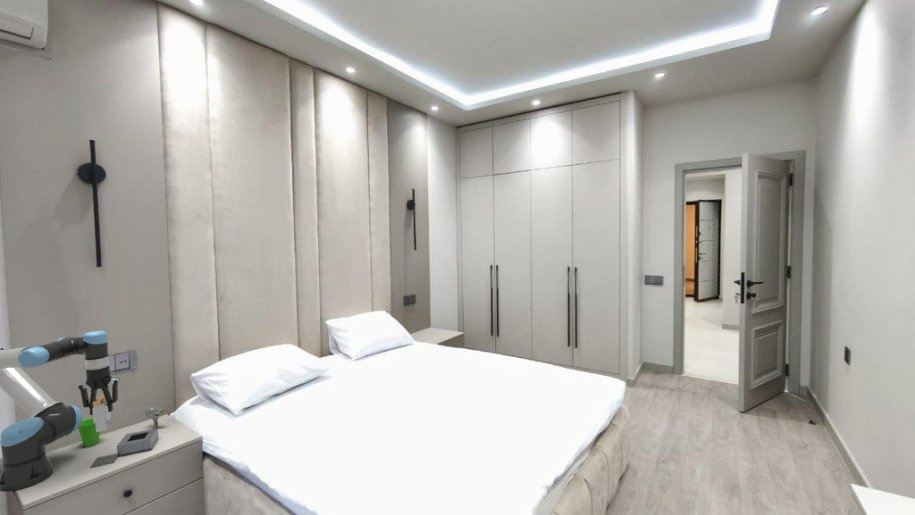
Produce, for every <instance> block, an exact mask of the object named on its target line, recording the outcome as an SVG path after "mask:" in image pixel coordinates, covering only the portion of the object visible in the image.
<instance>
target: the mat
mask: <svg viewBox="0 0 915 515" xmlns="http://www.w3.org/2000/svg"><path fill="white" fill-rule="evenodd" d="M118 458H119V457H118V454H117V453H114V454H109V455H108V454H107V455H102V456H99V457H96V458H95V460H93V463H91V465H90V466H89V468H91V469H92V468H96V467H100V466H105V465H111V464H114V463H115V462H116V460H117V459H118Z"/></svg>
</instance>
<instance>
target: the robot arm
mask: <svg viewBox="0 0 915 515" xmlns="http://www.w3.org/2000/svg"><path fill="white" fill-rule="evenodd" d="M108 340H109V339H108V336H107V332H106V331H104V330H97V331H96V330H95V331H90V332H85V333H84V334H83V335H82V336H67V337H60V338H58V339H57V340H56V341H52V342H49V343H44V344H42V345H33V346H25V347H17V348H15V349H6V350H4V349H3V348H1V349H0V388H1V389H2V391H3V392H5V393H6V394H7V396H9V397H10V399H12V400H13V401H14V402H15V403H16V404H17V405H18V406H19V407H20V408H21V409H22V410H23V411H25V413H26V414H27V415H28V416H30V417H29V418H25V419H23V420H19V421H16V422H14V423H11V424H10V425H8V426H6V427H5V428H4V429H3V430H2V431H1V433H0V448H1V456H2V464H3V467H2V471H1V474H0V492H3V493H5V492H15V491H18V490H23V489H25V488H29V487H31V486H35V485H37V484H39V483H41V482H43V481H45V480H47V479H49V477H51V476H52V475H53V473H54V472H55V471H54V464H52V462H51V461H50V459H49V458H48V456H47V454H46V453H47V451H46V446H48V445H50V444H52V443H54V442H56V441H58V440H60V439H62V438H64V437H66V436H69V435H70V434H71V433H73V432H75V431H77V430H79V429H78V428H79V427H80V425H81V423H82V421H83V418H84V417H83V416H84V414H83V412H82V410H81V408H79V407H78V406H77V405H73V404H71V405H70V404H69V405H66V404H65V403H64V402H63V401H55V400H54V399H53V398H52V397H51V396H50V395H49V394H48V393H47V392H46V391H45V390H43V388H42V387H40V386H39V385H38V383H37V382H35V380H34V379H32V378H31V376H29V375H28V373H26V372H25V371H24V370H23V369H22V368H21V367H24V368H27V369H30V368H36V367H41V366H42V365H45V364H48V363H52V362H54V361H57V360H58V361H59V360H61V359H65V358H69V357H71V356H77V355H78V356H79V355H80V356H81V355H84V364H85V369H86V370H85V373H86V374H85V375H86V381H85V382H84V383H81V384H79V385H78V386H77V387H78V390H79V391H80V394H81V400H82V405H83V408H89V415H90V416H92V418H93V420H94V423H95V412H94V406H93V401H94V400H95V399H97V391H98V390H99V389H100V390H101V391H102V394H103V395H104V396H105V399H106V402H107V405H106V406H105V411H106V421H107V420H109V421H110V419H111V418H112V417H111V415H112V414H111V412H113V409H114V407H113V406H114V405H113V404H114V403H116V402H117V401H118V400H119V399H118V398H119V394H118V393H119V392H118V390H119V389H118V388H119V386H118V384H119V382H120V378H113V377H112V376H111V368H110V366H109V365H110V356H109V347H108V344H109V343H108ZM110 382H111V383H110ZM109 384H111V385H112V388H111V391H110V389H109ZM87 387H89V388H90V396H89V393H88V388H87ZM89 397H90V398H89Z"/></svg>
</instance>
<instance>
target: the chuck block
mask: <svg viewBox="0 0 915 515" xmlns="http://www.w3.org/2000/svg"><path fill="white" fill-rule="evenodd" d="M158 439H159V429H158V427H157V428H151V429H146V430H139V431H135V432H130V433H126V434H125V435H124V436H123V438H121V440H120V442H119V443H118V444H117V445H116V451H117V452H116V454H118V458H120V457H124V456H129V455H134V454H139V453H144V452H149V451H152V450H153V448H154V446H155V445H154V444H156V443H157V441H158Z"/></svg>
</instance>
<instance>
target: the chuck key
mask: <svg viewBox="0 0 915 515" xmlns="http://www.w3.org/2000/svg"><path fill="white" fill-rule="evenodd" d="M106 405H107V402H106V399H105V396H104V394H100V395H99V396H97V397H96V399H95V400H94V401H93V406H94V412H95V424H96V432H99V431H100V432H104V431H107V430H108V429H109V428H110V427H111V426H110V419H109V420H107V421H106V411H105V406H106Z"/></svg>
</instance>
